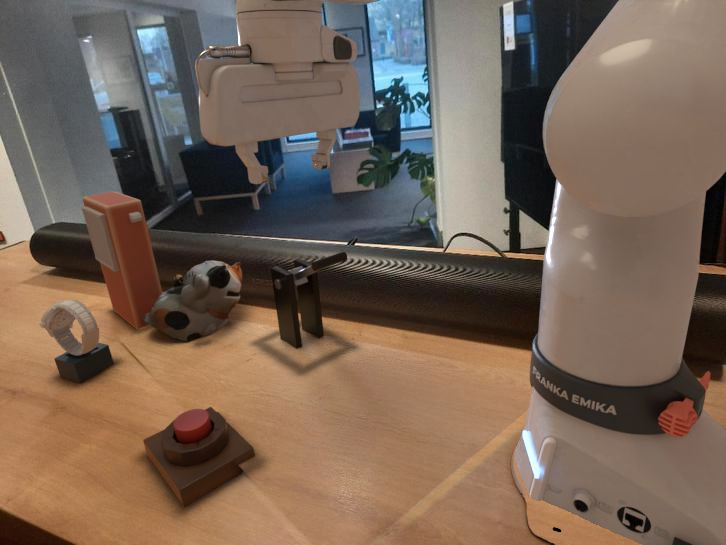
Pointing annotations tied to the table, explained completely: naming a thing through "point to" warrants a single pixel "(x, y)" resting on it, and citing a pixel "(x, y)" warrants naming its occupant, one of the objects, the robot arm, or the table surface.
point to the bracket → (288, 304)
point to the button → (192, 426)
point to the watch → (76, 341)
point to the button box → (198, 458)
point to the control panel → (123, 253)
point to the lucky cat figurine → (197, 301)
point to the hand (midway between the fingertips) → (291, 175)
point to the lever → (316, 267)
